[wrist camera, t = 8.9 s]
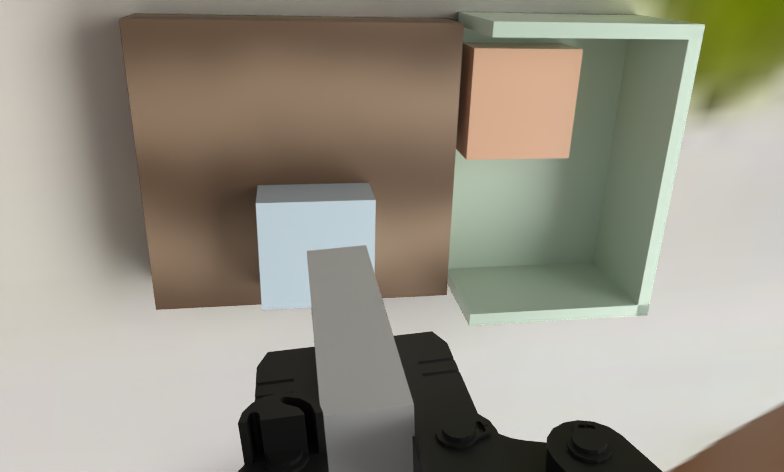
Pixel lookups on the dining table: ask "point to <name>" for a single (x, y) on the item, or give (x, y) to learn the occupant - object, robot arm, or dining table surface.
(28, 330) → the dining table surface
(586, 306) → the tray
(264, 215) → the pale blue square block
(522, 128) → the tile terracotta
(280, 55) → the board
